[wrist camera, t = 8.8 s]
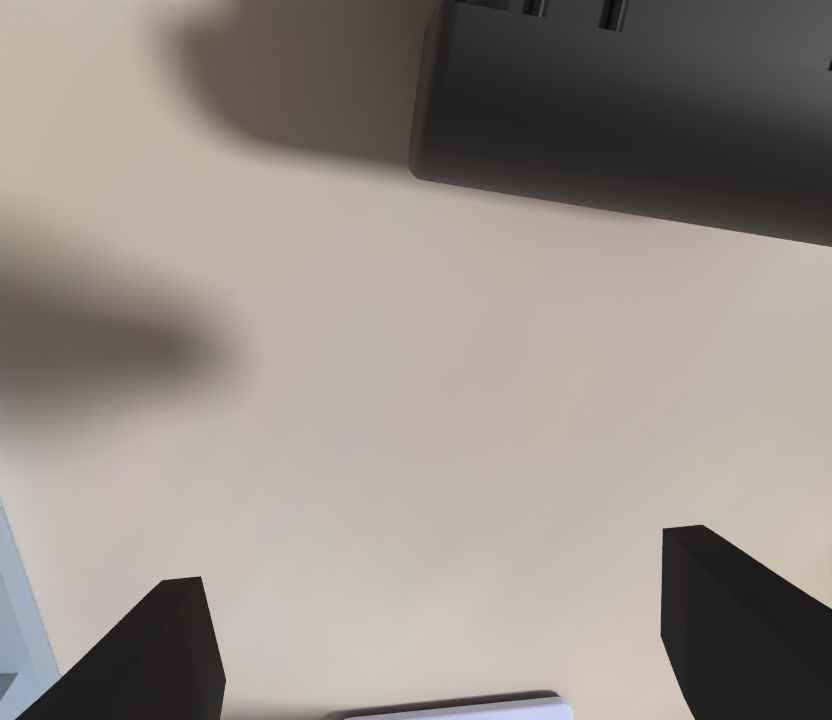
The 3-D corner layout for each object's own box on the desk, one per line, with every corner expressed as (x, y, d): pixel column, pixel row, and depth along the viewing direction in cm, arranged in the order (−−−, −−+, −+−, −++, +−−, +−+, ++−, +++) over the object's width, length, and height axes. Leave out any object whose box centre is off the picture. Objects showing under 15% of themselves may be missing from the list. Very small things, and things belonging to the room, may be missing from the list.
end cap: (404, 162, 19) (410, 196, 12) (452, -159, 16) (490, -322, 10) (770, 222, 19) (953, 283, 13) (867, -74, 17) (1147, -176, 11)
